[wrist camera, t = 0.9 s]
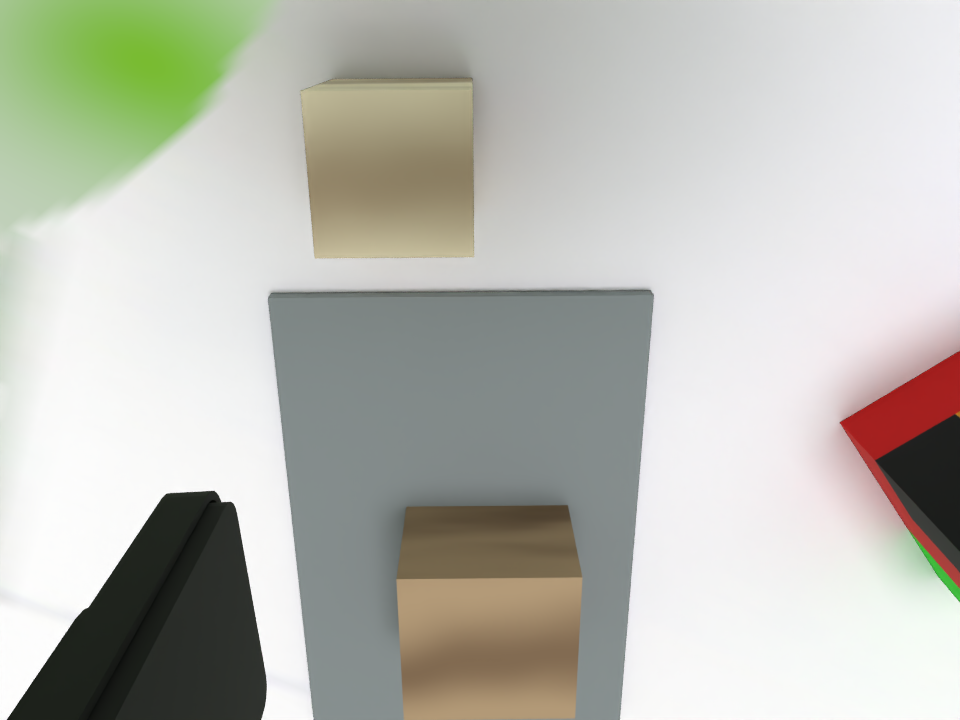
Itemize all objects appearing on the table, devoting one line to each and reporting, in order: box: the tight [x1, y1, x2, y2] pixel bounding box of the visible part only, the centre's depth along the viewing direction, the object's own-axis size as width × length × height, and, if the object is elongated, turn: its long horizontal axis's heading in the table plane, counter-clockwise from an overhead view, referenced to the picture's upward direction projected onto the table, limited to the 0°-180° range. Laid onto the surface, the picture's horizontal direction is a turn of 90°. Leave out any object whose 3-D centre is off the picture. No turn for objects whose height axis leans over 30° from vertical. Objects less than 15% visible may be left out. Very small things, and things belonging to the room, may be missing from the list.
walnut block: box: [396, 505, 582, 720], centre depth 34 cm, size 7×7×5 cm
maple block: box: [301, 78, 474, 258], centre depth 27 cm, size 5×5×6 cm
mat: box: [268, 291, 654, 720], centre depth 36 cm, size 22×15×1 cm
